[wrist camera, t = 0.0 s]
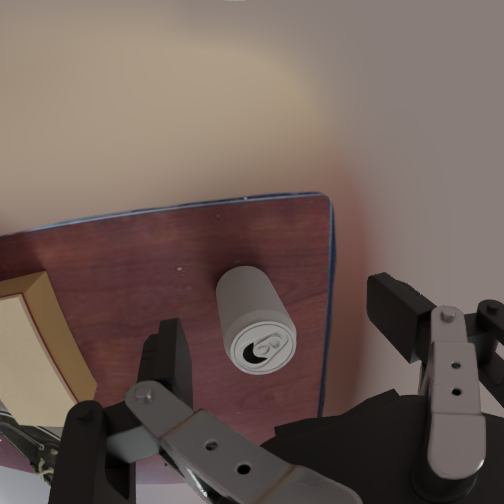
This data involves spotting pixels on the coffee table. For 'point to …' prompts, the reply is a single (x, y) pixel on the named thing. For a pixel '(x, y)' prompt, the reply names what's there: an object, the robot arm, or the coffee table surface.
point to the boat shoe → (32, 443)
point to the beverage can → (254, 321)
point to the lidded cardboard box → (39, 355)
